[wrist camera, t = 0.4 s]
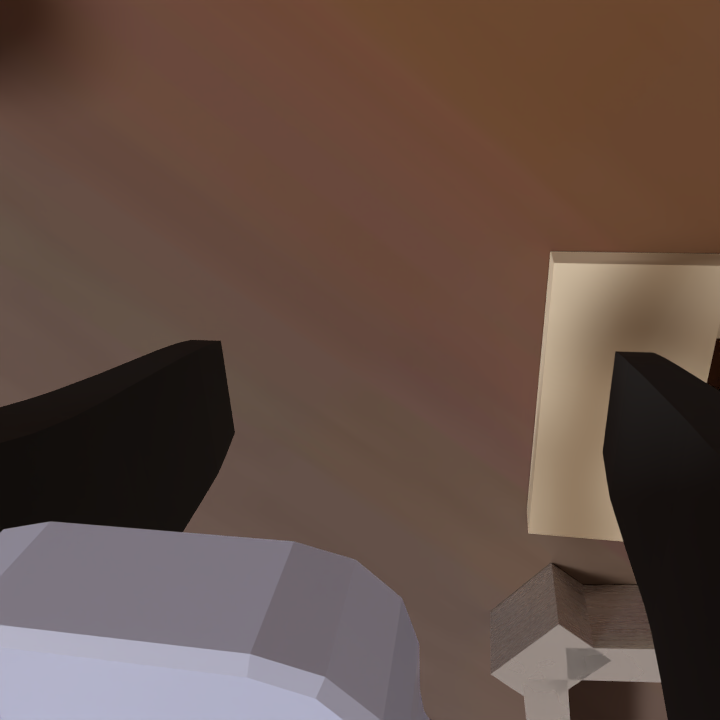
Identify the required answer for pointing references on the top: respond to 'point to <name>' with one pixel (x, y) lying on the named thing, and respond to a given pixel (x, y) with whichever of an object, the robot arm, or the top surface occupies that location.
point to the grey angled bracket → (569, 640)
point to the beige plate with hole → (607, 368)
